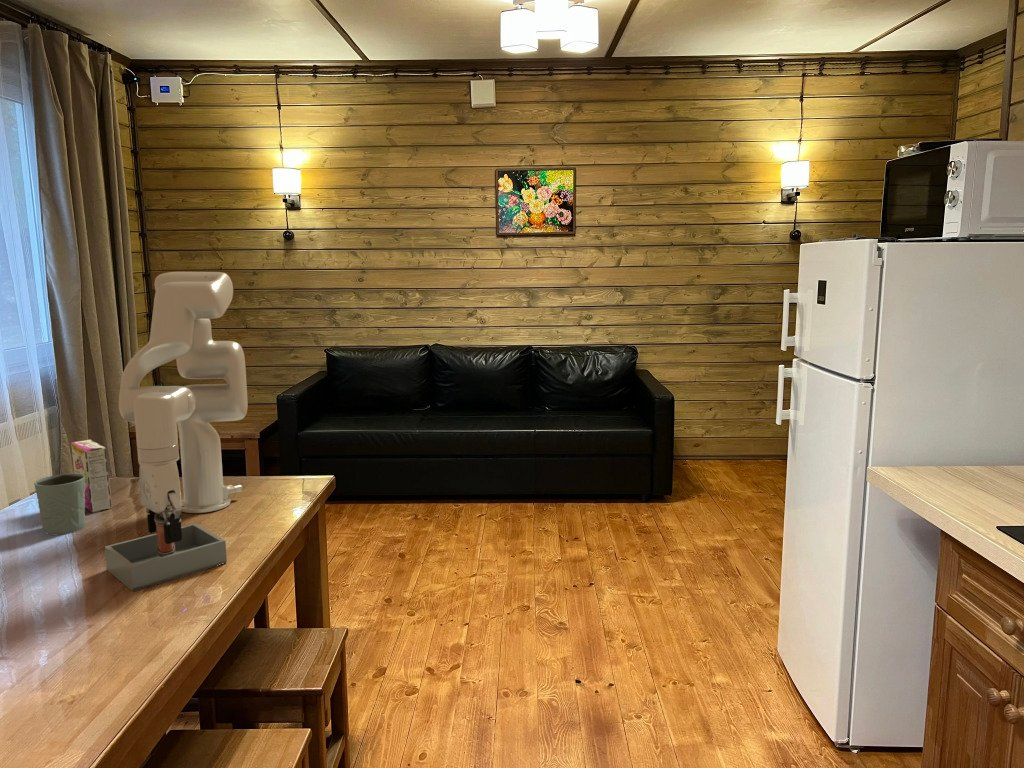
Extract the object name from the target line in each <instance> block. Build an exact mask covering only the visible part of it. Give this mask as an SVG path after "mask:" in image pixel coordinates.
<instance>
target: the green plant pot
mask: <svg viewBox="0 0 1024 768" xmlns="http://www.w3.org/2000/svg"><path fill="white" fill-rule="evenodd" d="M33 484H34V489H35V493H36V494H35V495H36V498H37V500H38V501H37V504H38V508H39V509H38V510H39V516H40V519H41V527H42V532H43V533H44V532H45V533H44V534H46V533H48V534H47V535H49V534H60V535H65V533H67V534H71V532H72V533H75V532H77V530H78V531H80V530H82V529H84V527H85V526H86V514H85V513H86V508H85V498H84V497H85V495H84V492H85V491H84V489H85V476H84V475H81V474H74V473H64V474H56V475H50V476H49V475H48V476H45V477H42V478H40V479H37V480H35V481H34V483H33ZM81 528H82V529H81ZM79 529H80V530H79ZM74 531H75V532H74Z"/></svg>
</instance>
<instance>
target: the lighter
mask: <svg viewBox="0 0 1024 768" xmlns="http://www.w3.org/2000/svg"><path fill="white" fill-rule="evenodd" d="M165 509H168V507H166V508H165ZM172 513H173V512H170V513H168V517H170V514H172ZM154 521H155V523H156V532H155V533H157V553H158V555H159V556H160V557H163V556H167V555H170V554H174V552H175V544H174V542H173V543H170V544H166V543H165V538H164V525H165V520H164V517H163V514H162V512H161V513H159V514H157V513H155V514H154Z"/></svg>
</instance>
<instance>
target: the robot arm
mask: <svg viewBox="0 0 1024 768" xmlns="http://www.w3.org/2000/svg"><path fill="white" fill-rule="evenodd" d="M233 286H234V285H233V281H232V280H231V277H230V276H229V275H228V274H227V273H225V272H221V271H220V272H219V271H171V272H170V271H169V272H164V273H161V274H158V275H157V276H156V277H155V279H154V291H155V293H154V300H153V309H152V317H151V324H150V325H151V327H150V335H149V341H148V343H146V344H145V345H144V346H142V347H141V348H140V349H139V350H138V351H137V352H136V353H135V354H134V355H133V357H131V358H130V360H129V361H128V362H127V364H126V366H125V367H124V370H123V372H122V375H121V381H120V388H119V396H118V410H119V414H120V416H121V417H122V418H123V420H125V421H126V422H129V423H134V424H135V425H134V427H135V437H136V438H135V439H136V450H137V460H138V461H137V462H138V465H139V470H138V471H139V473H138V475H139V480H138V481H139V501H140V504H141V505H142V506H144V508H146V509H145V510H146V511H145V512H146V519H147V530H148V531H147V532H148V533H150V534H154V533H157V532H156V523H155V521H154V514H155V513H157V514H159V513H161V512H162V514H163V517H164V520H165V525H164V538H165V543H166V544H170V543H173V542H177V541H181V540H182V532H181V527H182V512H183V513H187V514H203V513H210V512H214V511H215V512H217V511H219V510H222V509H224V508H227V507H229V505H230V504H231V495H232V494H237V493H242V491H243V486H242V485H241V484H236V485H232V484H228V485H226V484H224V477H223V475H224V474H223V462H222V446H221V438H220V437H221V436H220V435H219V433H218V431H217V430H216V429H215V428H214V427H213V426H212V425H211V423H213V422H216V423H217V422H235V421H237V422H238V421H241V420H243V419H244V418H245V417H246V415H247V414H248V409H249V407H248V405H249V404H248V403H249V402H248V387H247V386H248V385H247V371H246V370H247V369H246V360H245V359H246V357H245V353H244V349H243V347H242V345H241V344H240V343H238V342H236V341H234V340H214V339H213V335H212V323H211V322H212V321H211V319H213V320H215V319H219V318H221V317H223V316H224V315H225V313H226V312H227V310H228V308H229V306H230V305H231V303H232V301H233V296H234V287H233ZM174 360H175V361H176V367H177V372H178V374H179V375H180V377H182V378H184V379H187V380H212V379H213V380H216V379H217V380H218V379H219V380H220V379H222V380H224V381H226V383H203V384H201V383H199V384H198V383H197V384H186V385H163V386H162V385H153V386H151V385H150V386H148V385H147V386H140V384H141V382H142V381H143V380H144V379H143V378H145V376H146V375H147V374H149V373H150V372H152V371H153V370H154V369H156V368H158V367H160V366H163V365H165V364H167V363H169V362H172V361H174ZM178 437H179V438H178ZM179 447H180V448H179ZM179 449H180V450H179ZM179 460H180V464H181V473H182V474H181V476H182V477H181V478H182V490H181V482H180V476H179V475H180V474H179V469H178V465H177V463H178V462H179ZM177 461H178V462H177ZM181 491H183V499H182V492H181ZM166 507H167V509H165V508H166ZM168 507H170V508H168ZM170 512H171V513H172V514H170V517H168V513H170Z"/></svg>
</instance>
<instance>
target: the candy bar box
mask: <svg viewBox="0 0 1024 768" xmlns="http://www.w3.org/2000/svg"><path fill="white" fill-rule="evenodd" d="M70 445H71V456H72V464H73V471H74V472H73V474H81V475H84V476H85V489H84V491H85V492H84V495H85V497H84V498H85V510H87V511H89V512H91V513H92V512H93V513H98V512H97V511H99V512H102V510H103V511H106V509H107V510H109V509H112V500H111V491H110V481H109V470H108V462H107V452H106V447H105V446H103V445H101V444H100V443H97V442H96V441H94V440H92V439H85V440H78V441H73V442H71V443H70Z"/></svg>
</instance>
